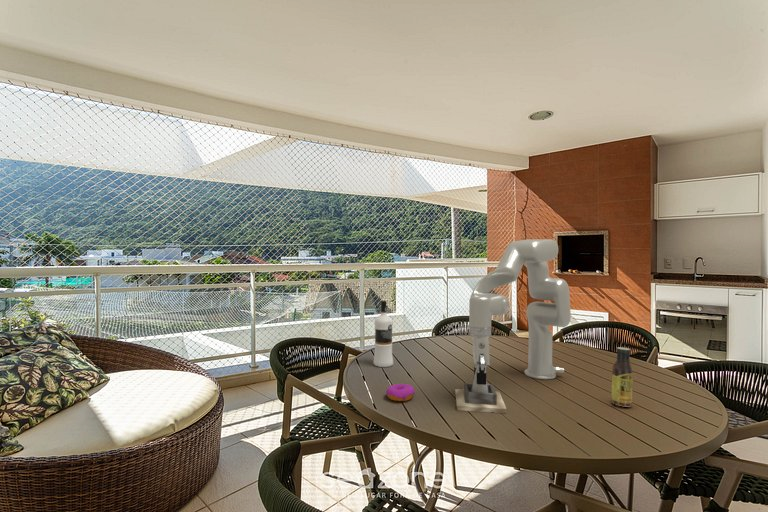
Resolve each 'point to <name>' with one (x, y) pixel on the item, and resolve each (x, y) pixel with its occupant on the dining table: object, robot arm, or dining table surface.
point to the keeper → (479, 400)
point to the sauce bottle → (622, 379)
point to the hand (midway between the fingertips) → (480, 379)
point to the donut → (400, 392)
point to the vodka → (383, 339)
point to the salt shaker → (476, 386)
